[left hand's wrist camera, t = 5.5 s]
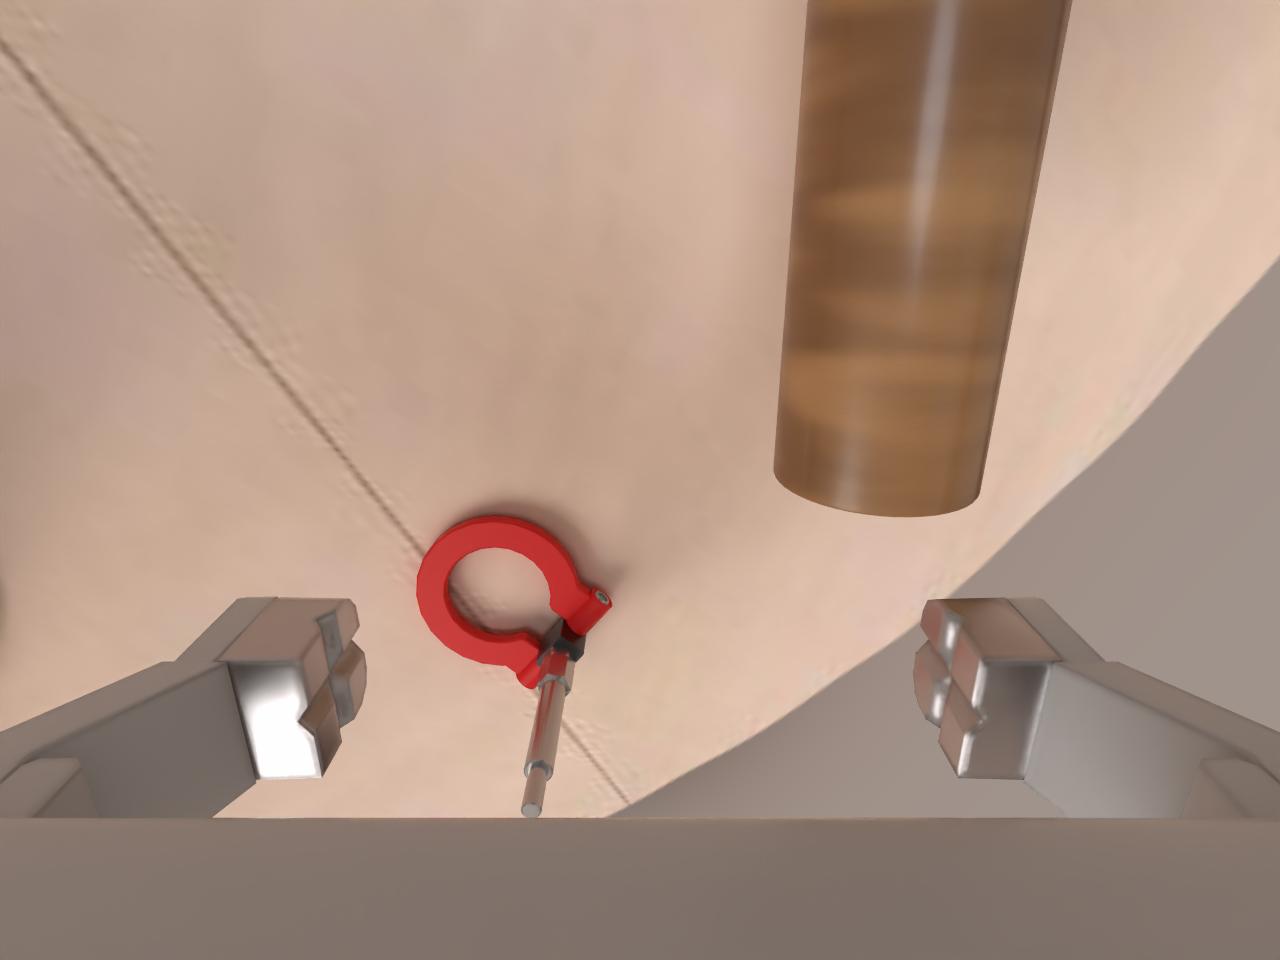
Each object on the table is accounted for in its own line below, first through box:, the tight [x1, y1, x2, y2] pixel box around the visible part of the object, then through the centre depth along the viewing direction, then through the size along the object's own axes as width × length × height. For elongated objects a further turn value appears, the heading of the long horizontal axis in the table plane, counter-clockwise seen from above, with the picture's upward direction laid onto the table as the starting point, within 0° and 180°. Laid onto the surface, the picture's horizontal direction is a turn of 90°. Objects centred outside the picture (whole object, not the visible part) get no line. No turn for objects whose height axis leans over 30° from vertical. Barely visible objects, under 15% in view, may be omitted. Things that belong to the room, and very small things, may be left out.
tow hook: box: [416, 516, 612, 818], centre depth 33 cm, size 8×13×9 cm
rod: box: [774, 0, 1072, 517], centre depth 18 cm, size 25×6×6 cm, turn 0°
